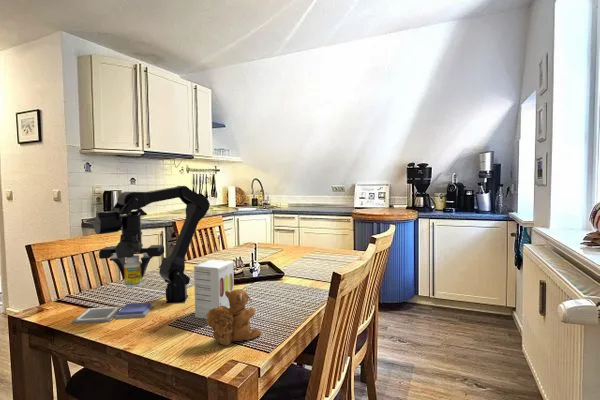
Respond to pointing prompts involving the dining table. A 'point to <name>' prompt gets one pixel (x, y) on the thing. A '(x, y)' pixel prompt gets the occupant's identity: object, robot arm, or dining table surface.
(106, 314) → the marked board
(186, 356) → the dining table surface
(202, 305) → the supplement box
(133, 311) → the ink pad
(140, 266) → the supplement bottle
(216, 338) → the stuffed squirrel
